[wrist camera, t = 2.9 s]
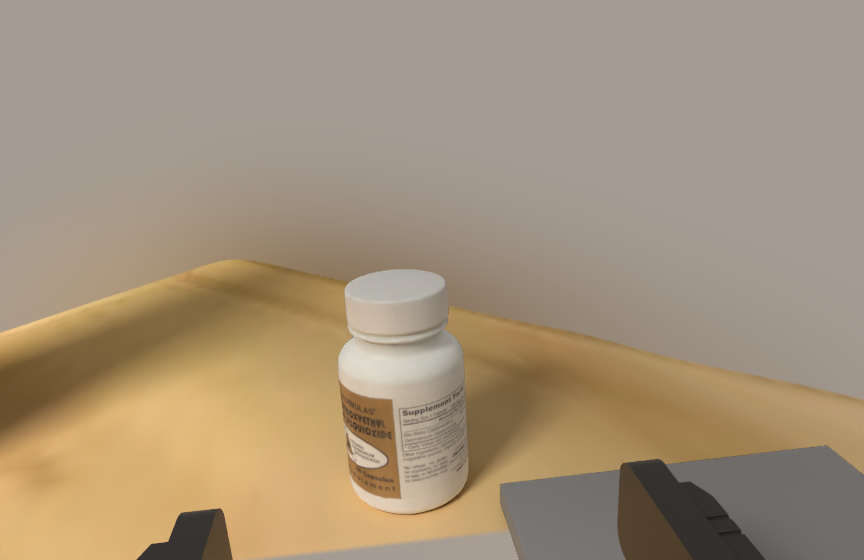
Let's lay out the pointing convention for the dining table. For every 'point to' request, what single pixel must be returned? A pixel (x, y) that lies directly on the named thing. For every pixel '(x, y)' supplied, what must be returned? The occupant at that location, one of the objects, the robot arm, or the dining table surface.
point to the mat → (727, 482)
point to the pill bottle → (403, 392)
